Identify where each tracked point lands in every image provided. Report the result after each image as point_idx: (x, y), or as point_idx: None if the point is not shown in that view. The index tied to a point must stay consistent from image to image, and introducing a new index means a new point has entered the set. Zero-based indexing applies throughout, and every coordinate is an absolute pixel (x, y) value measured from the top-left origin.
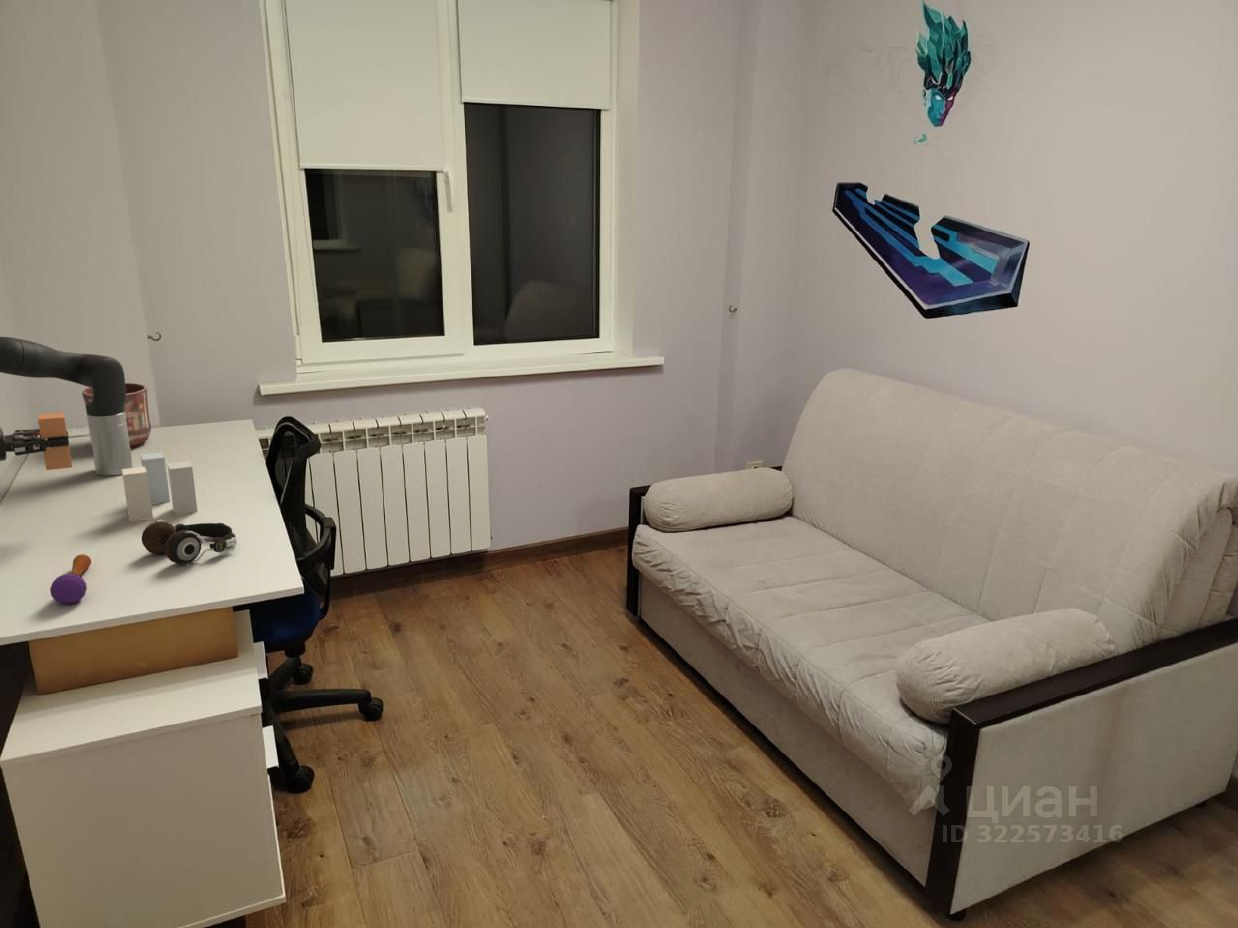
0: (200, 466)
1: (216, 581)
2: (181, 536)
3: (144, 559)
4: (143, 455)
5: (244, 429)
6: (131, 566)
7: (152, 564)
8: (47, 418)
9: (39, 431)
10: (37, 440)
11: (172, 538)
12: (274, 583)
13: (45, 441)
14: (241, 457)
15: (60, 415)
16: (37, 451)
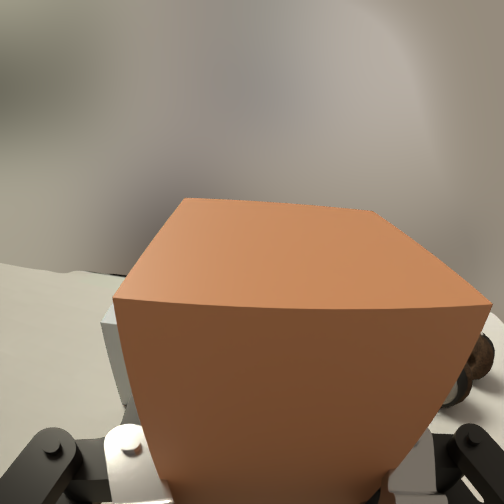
0: (33, 311)
1: (498, 349)
2: (489, 339)
3: (458, 415)
4: (110, 320)
5: None
6: (480, 424)
7: (472, 404)
8: (426, 254)
9: (67, 473)
10: (475, 464)
11: (490, 349)
12: (491, 318)
13: (436, 439)
14: (46, 279)
15: (300, 210)
16: (468, 496)
